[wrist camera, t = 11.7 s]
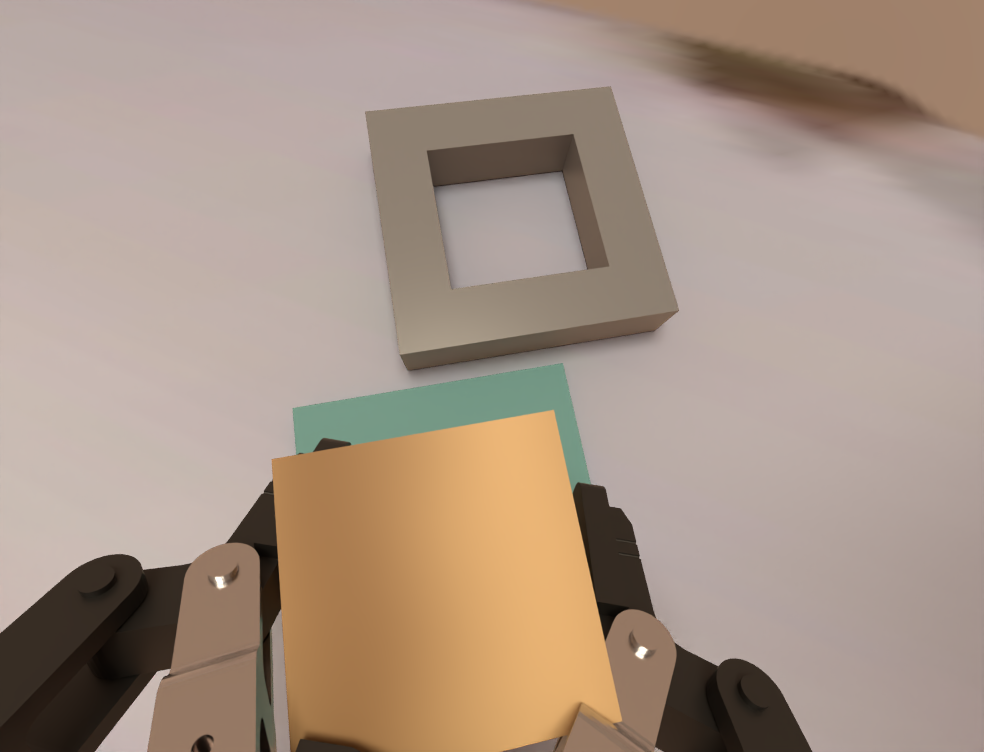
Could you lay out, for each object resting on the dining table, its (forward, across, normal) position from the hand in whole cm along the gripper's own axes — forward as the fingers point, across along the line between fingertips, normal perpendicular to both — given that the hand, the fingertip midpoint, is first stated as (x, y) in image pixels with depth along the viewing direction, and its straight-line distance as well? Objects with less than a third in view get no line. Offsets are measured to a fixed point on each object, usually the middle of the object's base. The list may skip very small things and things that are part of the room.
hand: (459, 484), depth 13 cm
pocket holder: (+13, 0, -4) cm, 14 cm away
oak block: (+2, 0, +5) cm, 5 cm away
